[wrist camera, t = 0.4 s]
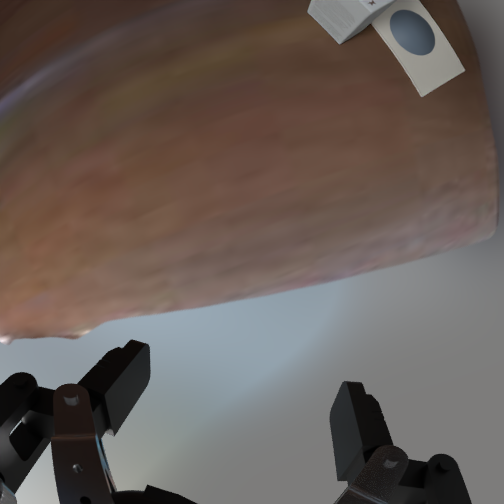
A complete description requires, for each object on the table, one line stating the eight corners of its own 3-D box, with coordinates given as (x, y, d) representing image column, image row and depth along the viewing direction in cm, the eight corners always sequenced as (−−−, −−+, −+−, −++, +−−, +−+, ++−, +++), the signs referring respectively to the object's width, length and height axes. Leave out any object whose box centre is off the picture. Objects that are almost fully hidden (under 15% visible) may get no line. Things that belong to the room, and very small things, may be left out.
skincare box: (362, 30, 25) (402, -1, 14) (339, 45, 27) (371, 15, 16) (329, -4, 23) (354, -47, 13) (305, 11, 25) (321, -33, 14)
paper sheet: (337, -13, 23) (338, -15, 22) (389, -32, 20) (390, -33, 19) (421, 97, 28) (422, 96, 28) (464, 70, 25) (465, 70, 25)
